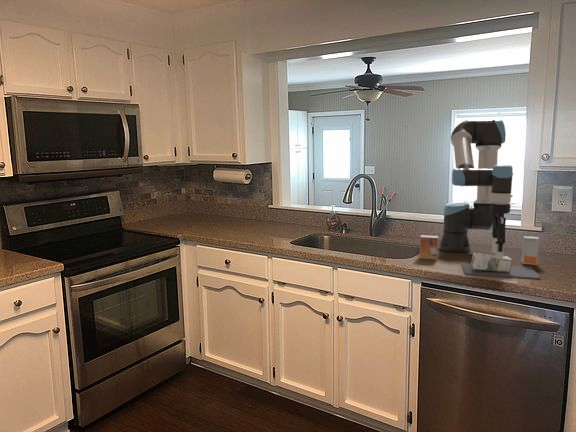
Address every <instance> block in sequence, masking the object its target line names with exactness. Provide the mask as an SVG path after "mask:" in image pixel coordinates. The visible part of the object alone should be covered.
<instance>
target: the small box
mask: <svg viewBox="0 0 576 432" xmlns="http://www.w3.org/2000/svg"><path fill="white" fill-rule="evenodd" d="M419 240H420V241H419V257H418V258H419V259H421V260H422V259H424V260H430V259H431V261H438V252H439V251H438V250H439V235H426V234H421V235H420V239H419Z"/></svg>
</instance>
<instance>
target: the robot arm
mask: <svg viewBox="0 0 576 432" xmlns="http://www.w3.org/2000/svg"><path fill="white" fill-rule="evenodd" d="M506 136H507V135H506V126H505V123H504V121H503V120H502V119H498V118H483V119H482V118H481V119H466V120H464V121H462V122H460V123H458V124H457V125H456V126H455V127H454V129H453V130H452V132H451V134H450V142H451V143H450V144H451V145H452V146H453V151H454V152H453V153H454V162H455V163H454V164H455V168H453V169H452V171H451V184H452V185H453V186H455V187H457V186H460V187H477V188H476V189H477V190H476V199H475V200H474V201H473V202H472V203H473V205H470V203H469V202H454V203H450V204H447V205H445V206H444V208H443V209H444V211H443V228H442V229H443V230H442V236H441V238H440V240H439V242H438V250H441V251H444V252H450V253H468V252H471V243H470V239H469V236H468V235H469V234H468V231H469V230H477V231H478V230H481V231H482V230H483V231H492V232H491V235H492V241H491V242H492V244H491V245H492V246H491V254H495V255H496V259H503V256H504V251H505V250H504V249H505V244H506V221H507V219H506V217H505V214H510V213H511V204H510V203H511V199H512V198H513V195H512V189H513V187H512V186H513V176H514V173H513V172H514V171H513V169H514V168H513V166H512V165H508V164H498V153H499V150H500V148H502V144H505V143H506ZM471 144H475V149H477V150H478V160H477V161H478V167H477V168H475V165H474V159H473V158H474V157H473V151H472V145H471Z"/></svg>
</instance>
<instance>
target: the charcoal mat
mask: <svg viewBox="0 0 576 432" xmlns="http://www.w3.org/2000/svg"><path fill="white" fill-rule="evenodd" d="M461 266H462V269H463V272H464V275H465V276H482V277H494V278H495V277H499V278H510V279H511V278H513V279H514V278H515V279H530V280H541V278H542V277H540V276H539V274H538V273H537V272H536V271H535V270H534V269H533V267H531V266H514V265H513V266H512V265H511V270H510V273H508V272H499V271H490V270H481V269H474V268H473V267H472V266H471V263H461Z"/></svg>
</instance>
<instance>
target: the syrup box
mask: <svg viewBox="0 0 576 432" xmlns="http://www.w3.org/2000/svg"><path fill="white" fill-rule="evenodd" d="M470 264H471V266H472V267H473V268H474V269H481V270H490V271H499V272H508V273H510V270H511V266H512V264H513V259H512V258H511V257H509V256H506V255H503V259H496V254H489V253H480V252H473V253H472V258H471V263H470Z"/></svg>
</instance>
